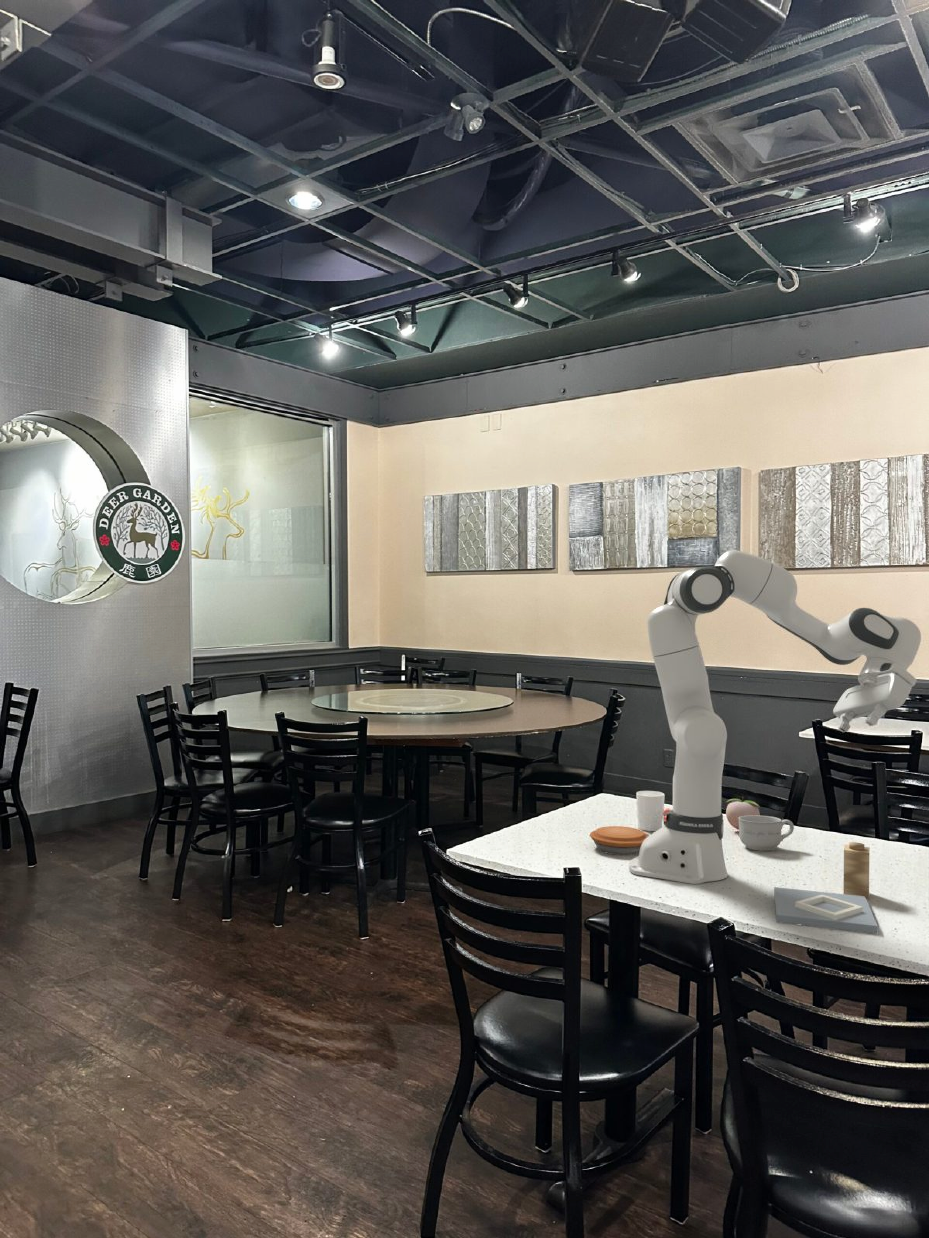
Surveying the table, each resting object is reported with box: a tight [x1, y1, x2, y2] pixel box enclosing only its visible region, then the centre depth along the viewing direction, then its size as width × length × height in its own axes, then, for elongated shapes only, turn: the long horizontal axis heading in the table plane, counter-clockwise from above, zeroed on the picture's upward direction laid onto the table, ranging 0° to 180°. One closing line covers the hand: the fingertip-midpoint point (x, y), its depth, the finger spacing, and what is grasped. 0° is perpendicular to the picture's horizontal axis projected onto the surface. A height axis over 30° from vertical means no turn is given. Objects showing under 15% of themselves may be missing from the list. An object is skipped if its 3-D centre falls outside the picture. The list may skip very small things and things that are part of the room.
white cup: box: [635, 790, 666, 832], centre depth 243 cm, size 8×8×10 cm
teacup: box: [738, 815, 795, 852], centre depth 222 cm, size 14×11×8 cm
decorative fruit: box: [725, 796, 761, 831], centre depth 239 cm, size 9×8×10 cm
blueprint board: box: [773, 886, 878, 935], centre depth 173 cm, size 18×18×2 cm
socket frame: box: [795, 895, 863, 920], centre depth 171 cm, size 9×9×1 cm
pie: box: [589, 825, 650, 856], centre depth 221 cm, size 16×16×5 cm
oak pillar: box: [842, 841, 870, 901], centre depth 185 cm, size 5×5×11 cm
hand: (855, 727), depth 190 cm, fingers open, 8 cm apart
